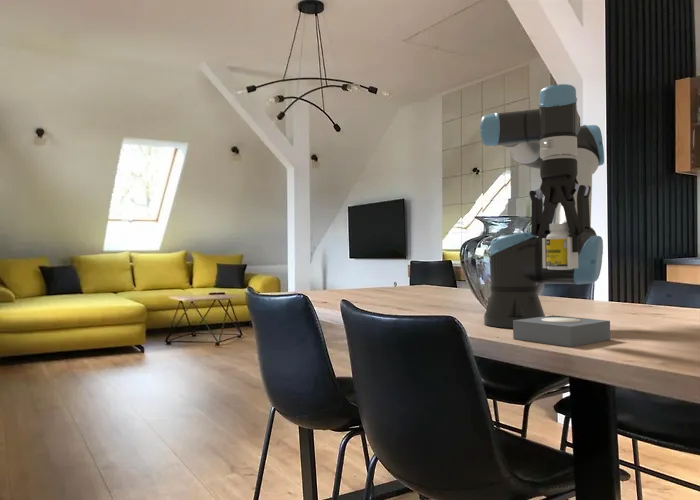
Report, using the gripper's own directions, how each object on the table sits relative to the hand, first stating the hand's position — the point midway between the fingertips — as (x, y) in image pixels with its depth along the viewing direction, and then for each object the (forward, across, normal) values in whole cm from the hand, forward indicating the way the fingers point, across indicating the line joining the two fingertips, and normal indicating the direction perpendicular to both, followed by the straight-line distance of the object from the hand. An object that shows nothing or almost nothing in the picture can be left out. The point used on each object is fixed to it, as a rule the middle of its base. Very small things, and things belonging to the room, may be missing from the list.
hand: (560, 268), depth 126 cm
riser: (+15, 0, 0) cm, 15 cm away
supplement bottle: (+1, 0, 0) cm, 1 cm away
